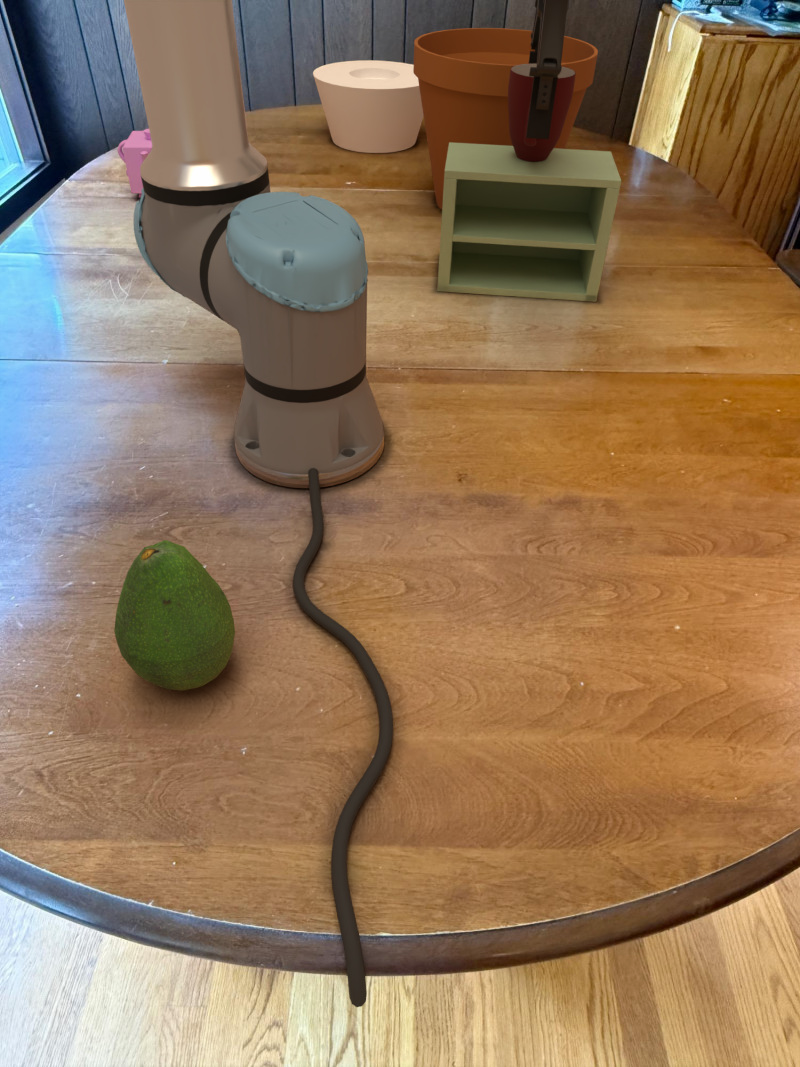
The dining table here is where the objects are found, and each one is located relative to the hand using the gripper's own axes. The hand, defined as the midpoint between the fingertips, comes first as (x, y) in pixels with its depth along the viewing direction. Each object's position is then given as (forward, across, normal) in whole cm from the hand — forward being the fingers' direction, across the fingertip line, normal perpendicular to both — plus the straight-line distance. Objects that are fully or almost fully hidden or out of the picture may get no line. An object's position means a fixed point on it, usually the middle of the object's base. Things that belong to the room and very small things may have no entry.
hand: (535, 123), depth 98 cm
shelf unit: (+20, 0, 0) cm, 21 cm away
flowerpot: (+20, +30, +4) cm, 37 cm away
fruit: (+21, -74, +26) cm, 81 cm away
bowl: (+20, +63, +28) cm, 72 cm away
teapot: (+17, +26, +60) cm, 68 cm away
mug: (+5, 0, 0) cm, 5 cm away
